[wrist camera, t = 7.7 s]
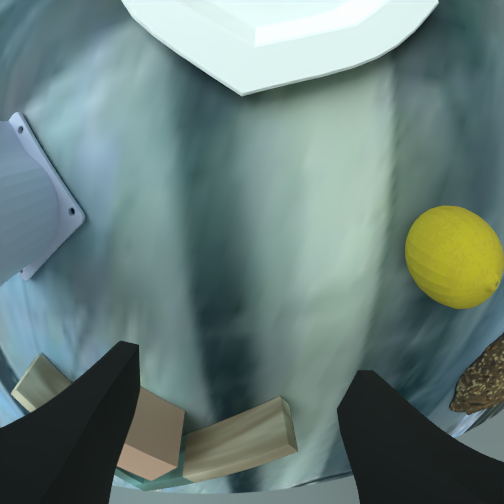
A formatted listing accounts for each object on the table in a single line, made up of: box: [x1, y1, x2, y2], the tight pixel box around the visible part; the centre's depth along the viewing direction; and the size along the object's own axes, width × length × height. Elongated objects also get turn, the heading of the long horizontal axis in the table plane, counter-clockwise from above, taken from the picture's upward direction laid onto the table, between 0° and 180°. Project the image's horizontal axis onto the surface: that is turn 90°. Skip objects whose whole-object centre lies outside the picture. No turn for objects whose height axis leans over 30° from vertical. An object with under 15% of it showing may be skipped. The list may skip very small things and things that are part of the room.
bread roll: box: [449, 333, 504, 415], centre depth 23 cm, size 13×12×5 cm
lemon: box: [405, 206, 504, 309], centre depth 14 cm, size 6×6×8 cm
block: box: [117, 386, 185, 481], centre depth 20 cm, size 4×4×6 cm
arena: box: [11, 353, 298, 491], centre depth 19 cm, size 16×17×5 cm
